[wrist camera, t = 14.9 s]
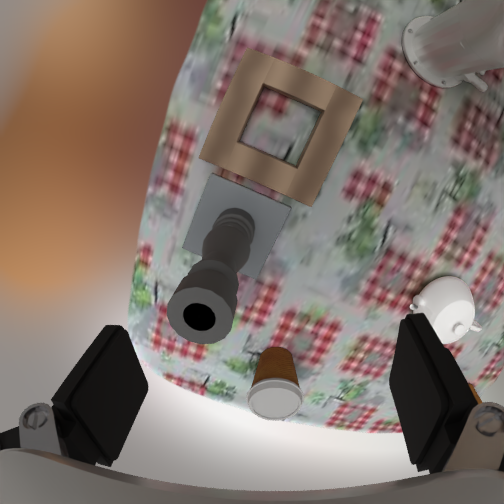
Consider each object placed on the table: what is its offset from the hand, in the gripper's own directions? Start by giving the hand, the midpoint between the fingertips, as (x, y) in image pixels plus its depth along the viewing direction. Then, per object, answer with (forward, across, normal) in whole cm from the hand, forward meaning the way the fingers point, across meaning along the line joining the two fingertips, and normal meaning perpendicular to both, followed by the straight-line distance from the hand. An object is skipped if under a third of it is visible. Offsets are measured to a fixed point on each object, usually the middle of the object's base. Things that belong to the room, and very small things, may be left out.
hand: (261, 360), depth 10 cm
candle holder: (+39, +7, +8) cm, 40 cm away
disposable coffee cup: (+39, +3, +34) cm, 52 cm away
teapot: (+40, -28, +24) cm, 55 cm away
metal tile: (+39, +8, +8) cm, 41 cm away
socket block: (+40, -1, -7) cm, 40 cm away
